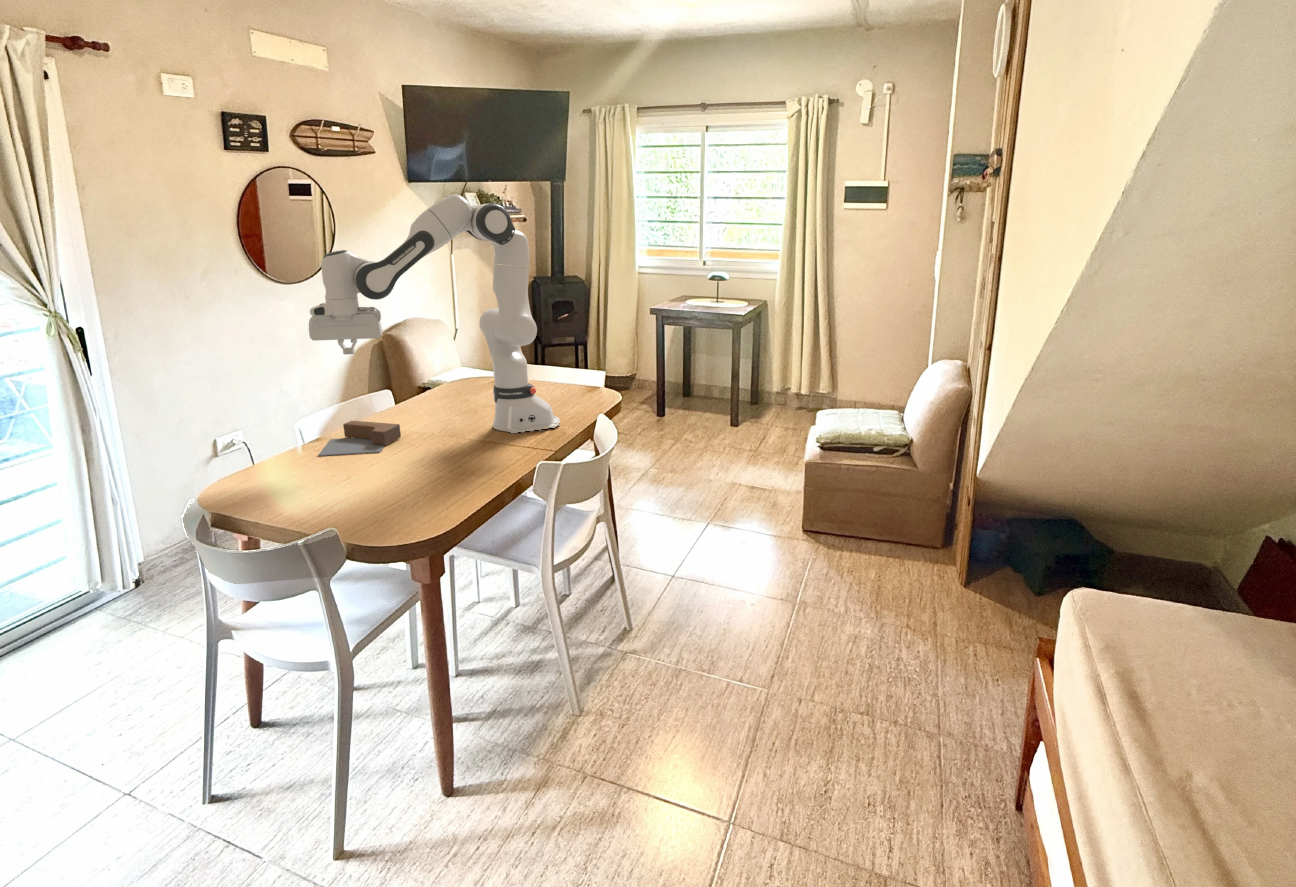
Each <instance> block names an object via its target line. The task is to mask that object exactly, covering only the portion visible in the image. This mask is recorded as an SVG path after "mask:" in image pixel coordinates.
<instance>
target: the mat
mask: <svg viewBox="0 0 1296 887" xmlns="http://www.w3.org/2000/svg"><path fill="white" fill-rule="evenodd" d="M383 447H385V446H384V445H375V444H373V441H372V439H363V438H351V437H343V438H330V439H329V440H328V441H327V443H325V445H324V447H323V448H322V449H321V451H320V452H319V453H318V454H317V456H318V457H329V456H330V457H331V456H332V457H333V456H345V455H347V456H348V455H363V454H362V453H367V454H379V453H380V452H381V453H382V451H383V449H384V448H383ZM381 453H380V454H381Z"/></svg>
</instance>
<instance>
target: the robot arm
mask: <svg viewBox="0 0 1296 887" xmlns="http://www.w3.org/2000/svg"><path fill="white" fill-rule="evenodd" d="M409 229H410V230H409V232H408V236H407V237H406V239H405V240H404V242H403V243H401V245H399V246H398V247H397V248H395V250H393V251H392V252H391V253H389V254H388V255H387V256H386V257H384V258H383V259H382V260H380V261H377V262H375V261H372V260H368V259H365V258H362V257H360V256H358V255H356V254H353V253H351V251H349V250H346V249H345V250H344V249H343V250H335V251H332V252H328V253H326V254H325V255H324V256H323V257H322V259H321V277H322V284H323V286H324V289H325V296H324V298H325V299H324V300H325V302H323V303H319V305H315V306H312V308H310V309H309V314H310V316H311V317H310V318H309V320H308V335H309V338H310V339H311V340H312V341H337V344H338V346H339V347H340V348H341V349H342V352H343V355H355V352H356V351H355V347H356V345H357V343H358V340H365V339H368V340H369V339H380V338H381V337H382V336H383V328H382V324H381V320H382V313H381V311H380V309H378V308H377V307H375V306H359V298H358V294H361V295H362V296H364V297H365V298H367V299H370V300H374V301H375V300H376V301H377V300H378V301H379V300H381V299H384V298H386V297H388V296H389V295H390V294H391V293H392V291H393V289H394V287H395V285H396V283H397V281H398V280H399V279H400V278H401V276H402V275H404V274H405V273H406V272H407V271H408V270H410V269H411V268H413V266H414V265H415V264H416V263H418V262H419V261H420V260H421V259H423V258H424V257H426V256H428V255H430V254H431V253H434V252H435V251H438V250H439V249H440V248H442V247H444V246H445V245H447V244H449V243H450V242H451V241H452V240H453V239H455V238H456V237H457V236H458V235H459V234H462V233H463V232H466V233H468V234H469V235H471V237H473V238H475V239H477V240H479V241H484V242H490V243H491V244H492V247H493V250H494V258H493V259H494V260H493V275H492V277H493V278H492V292H493V294H494V295H495V297H496V301H497V307H493V308H489V309H487V310H486V311H484V312H483V313H482V314H481V316H480V319H479V328H480V331H481V332H482V334H483V335H484V337H485V340H486V344H487V347H488V350H489V353H490V357H491V361H492V369H493V380H494V381H493V382H494V384H493V400H494V403H495V405H494V407H495V408H494V417H493V418H494V419H493V424H492V428H493V429H495V430H497V431H501V432H507V433H509V432H510V434H519V433H518V432H521V433H526V432H525V431H530V432H535V431H534V430H539V429H545V428H553V427H556V426H558V425H559V423H560V424H561V421H560V418H559V417H558V416H556V415H554V413H553V412H554V411H553V409H552V407H551V404H549V403H548V402H547V400H544V399H543V398H541V397H540V396H538V395H536V393H537V388H536V386H535V385H534V384H533V383H532V384H531V383H529V374H528V362H527V359H526V356H525V355H524V354H523V351H522V349H521V347H523V346H525V347H526V346H528V345H530V344H531V343H533V342H534V340H535V339H536V336H537V335H538V334H537V333H538V327H537V323H536V321H535V319H534V318H533V316H532V311H531V307H530V302H529V274H530V273H529V272H530V247H529V239H528V237H527V235H525V234H524V232H521V231H519V230H516V227H515V226H514V223H513V221H512V218H511V215H510V214H509V212H508V210H506V209H505V208H504V207H503V206H502V205H500V204H497V203H482V204H480V205H473V206H472V205H471V204H470V203H469V201H468V200H467V199H466V198H465V197H463V196H461V195H459V194H456V193H455V194H450V195H448V196H446V197H444V198H442V199H440V200H439V201H437V202H435V203H434V204H432V205H431V206H429V207H428V208H426V209H425V210H424V211H422V213H421V214H419V215H418V217H417V218H416V219H415V220H414V221H413V222H412V223H411V225H410V228H409ZM345 340H350V343H352V344H351V347H346V345H345V344H344V343H345ZM559 426H560V425H559ZM539 431H540V430H539Z"/></svg>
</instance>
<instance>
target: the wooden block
mask: <svg viewBox="0 0 1296 887" xmlns="http://www.w3.org/2000/svg"><path fill="white" fill-rule="evenodd" d="M342 426H343V427H342V428H343V432H344V438H363V439H372V441H373V444H375V445H385V446H386V445H388V444H390V443H392V442H394V441H397V440H398V439H399V438H401V437H402V435H401V434H402V432H401V425H400V424H398V423H389V422H377V421H376V422H375V421H374V422H373V421H362V420H350V421H347V422H345V423H343V425H342Z"/></svg>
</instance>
